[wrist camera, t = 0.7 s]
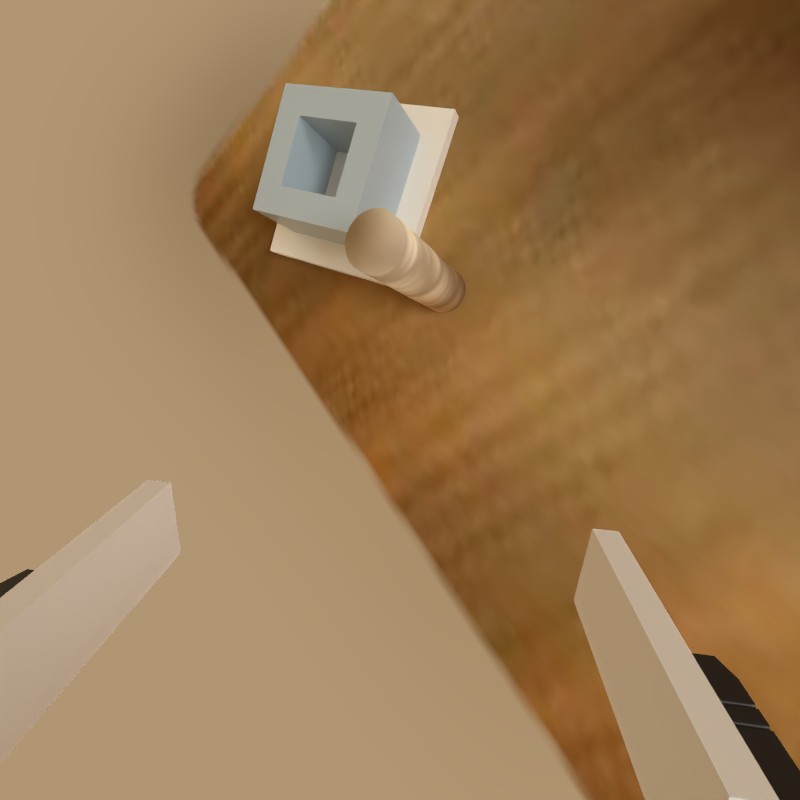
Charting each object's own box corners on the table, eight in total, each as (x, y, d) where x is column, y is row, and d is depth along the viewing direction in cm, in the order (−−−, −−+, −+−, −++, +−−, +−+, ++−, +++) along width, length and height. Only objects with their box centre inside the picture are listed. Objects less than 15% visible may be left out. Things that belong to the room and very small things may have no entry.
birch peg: (431, 264, 40) (356, 202, 27) (471, 274, 38) (411, 214, 26) (417, 306, 41) (337, 264, 28) (456, 318, 39) (390, 279, 26)
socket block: (319, 102, 45) (272, 51, 38) (458, 117, 39) (431, 60, 32) (277, 253, 47) (226, 231, 41) (402, 290, 41) (366, 270, 35)
